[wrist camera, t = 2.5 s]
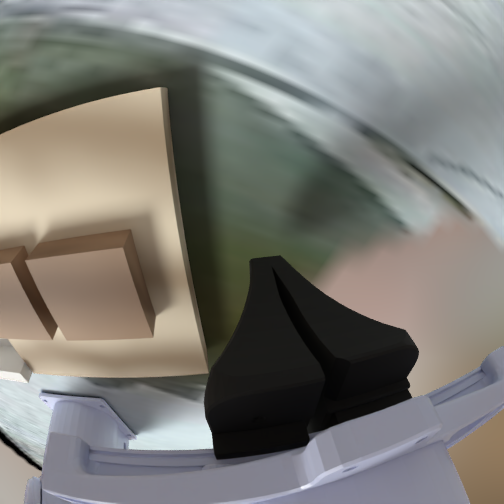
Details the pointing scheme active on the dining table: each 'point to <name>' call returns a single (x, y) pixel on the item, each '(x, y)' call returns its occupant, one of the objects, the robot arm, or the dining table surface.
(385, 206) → the dining table surface
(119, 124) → the board
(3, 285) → the tile
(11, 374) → the tray
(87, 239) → the tile
